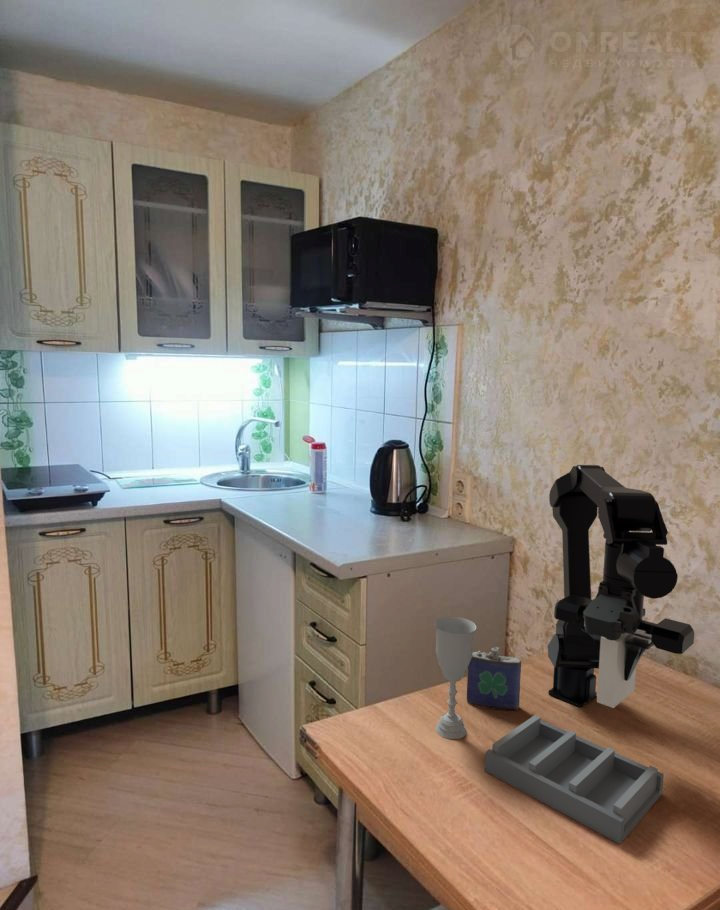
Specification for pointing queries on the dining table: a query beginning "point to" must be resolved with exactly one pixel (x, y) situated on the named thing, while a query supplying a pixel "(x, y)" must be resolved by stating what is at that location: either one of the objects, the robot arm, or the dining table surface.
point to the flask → (494, 681)
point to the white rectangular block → (614, 672)
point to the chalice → (453, 666)
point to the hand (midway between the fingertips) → (617, 676)
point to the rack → (576, 777)
